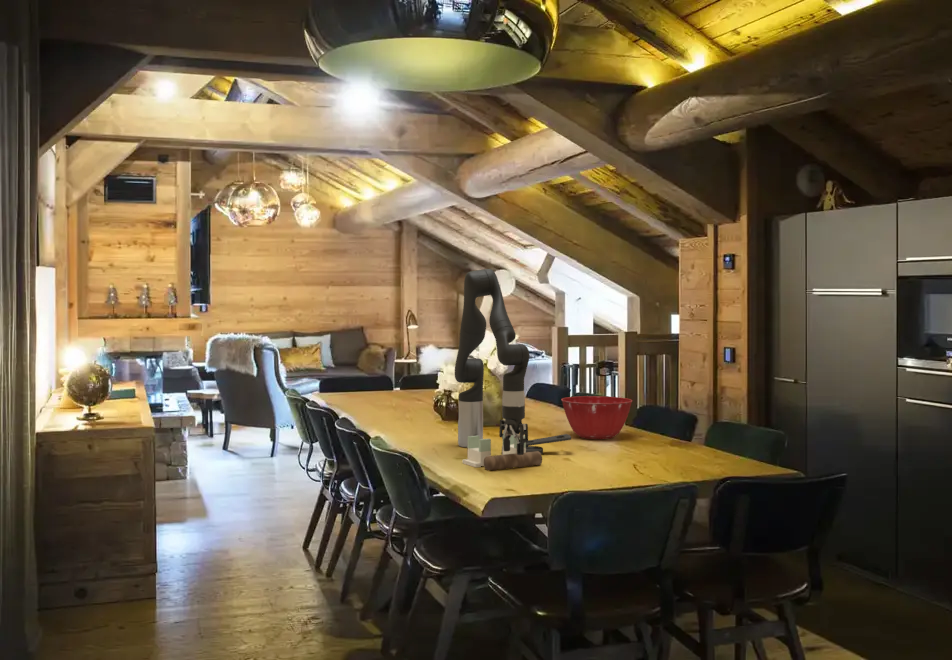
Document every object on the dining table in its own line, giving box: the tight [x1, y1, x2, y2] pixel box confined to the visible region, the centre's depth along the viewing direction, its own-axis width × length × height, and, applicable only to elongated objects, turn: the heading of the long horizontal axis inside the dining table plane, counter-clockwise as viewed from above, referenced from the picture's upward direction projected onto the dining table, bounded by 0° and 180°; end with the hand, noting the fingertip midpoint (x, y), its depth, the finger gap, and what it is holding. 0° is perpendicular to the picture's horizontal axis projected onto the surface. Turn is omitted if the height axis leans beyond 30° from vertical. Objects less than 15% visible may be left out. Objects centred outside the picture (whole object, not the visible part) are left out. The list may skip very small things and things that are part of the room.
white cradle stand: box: [461, 435, 526, 468], centre depth 316 cm, size 22×9×9 cm, turn 120°
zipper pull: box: [501, 433, 572, 455], centre depth 334 cm, size 9×7×25 cm
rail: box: [484, 451, 543, 471], centre depth 307 cm, size 20×5×5 cm, turn 120°
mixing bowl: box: [561, 395, 633, 440], centre depth 372 cm, size 28×28×16 cm
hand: (513, 452), depth 306 cm, fingers open, 8 cm apart
